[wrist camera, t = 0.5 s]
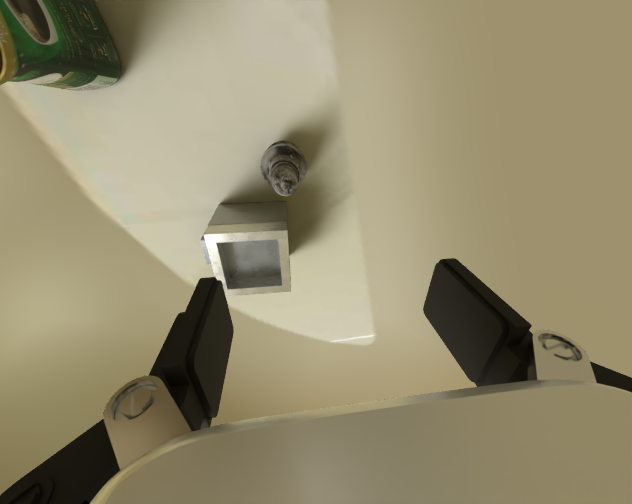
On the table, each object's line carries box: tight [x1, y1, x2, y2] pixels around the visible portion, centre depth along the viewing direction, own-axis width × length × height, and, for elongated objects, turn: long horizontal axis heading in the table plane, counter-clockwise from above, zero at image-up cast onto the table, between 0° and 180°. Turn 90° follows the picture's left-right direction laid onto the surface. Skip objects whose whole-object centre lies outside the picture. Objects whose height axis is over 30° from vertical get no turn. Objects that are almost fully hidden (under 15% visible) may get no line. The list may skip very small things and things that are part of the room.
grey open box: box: [200, 202, 291, 296], centre depth 38 cm, size 13×12×10 cm
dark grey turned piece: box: [261, 141, 306, 196], centre depth 31 cm, size 6×6×12 cm
